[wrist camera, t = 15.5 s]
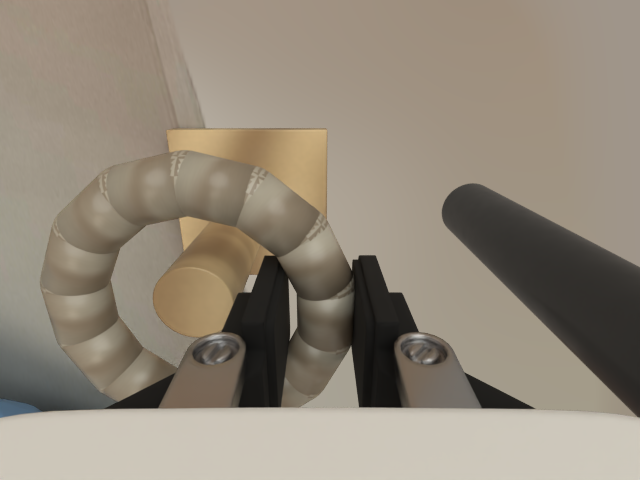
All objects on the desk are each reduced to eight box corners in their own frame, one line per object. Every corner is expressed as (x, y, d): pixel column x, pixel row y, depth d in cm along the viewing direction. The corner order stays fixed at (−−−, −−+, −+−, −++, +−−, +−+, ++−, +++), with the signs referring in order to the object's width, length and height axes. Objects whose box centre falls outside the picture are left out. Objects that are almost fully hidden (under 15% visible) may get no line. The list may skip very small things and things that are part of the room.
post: (326, 128, 21) (336, 161, 10) (325, 266, 25) (332, 410, 13) (173, 128, 21) (8, 162, 10) (192, 267, 25) (85, 412, 13)
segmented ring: (359, 147, 11) (364, 157, 9) (347, 407, 14) (350, 449, 12) (34, 144, 11) (-21, 152, 9) (103, 400, 14) (73, 440, 13)
